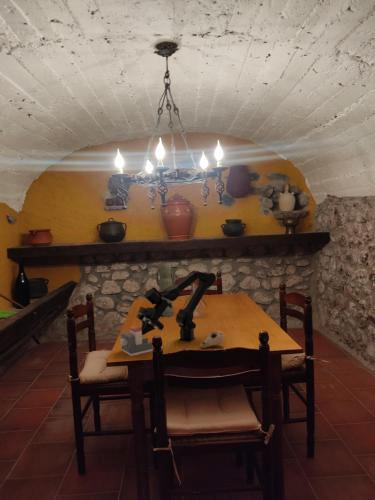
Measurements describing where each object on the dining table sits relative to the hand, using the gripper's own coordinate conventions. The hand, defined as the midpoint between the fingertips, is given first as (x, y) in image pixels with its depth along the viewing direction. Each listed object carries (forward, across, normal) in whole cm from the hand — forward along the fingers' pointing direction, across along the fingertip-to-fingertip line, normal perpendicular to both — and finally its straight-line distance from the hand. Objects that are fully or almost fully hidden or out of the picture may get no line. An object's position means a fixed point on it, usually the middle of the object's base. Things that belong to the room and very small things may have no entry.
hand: (139, 335), depth 201 cm
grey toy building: (+5, 0, +4) cm, 6 cm away
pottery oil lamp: (-16, +17, +27) cm, 36 cm away
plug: (+8, 0, +1) cm, 8 cm away
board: (+6, 0, +4) cm, 7 cm away
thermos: (-28, -53, +38) cm, 71 cm away
